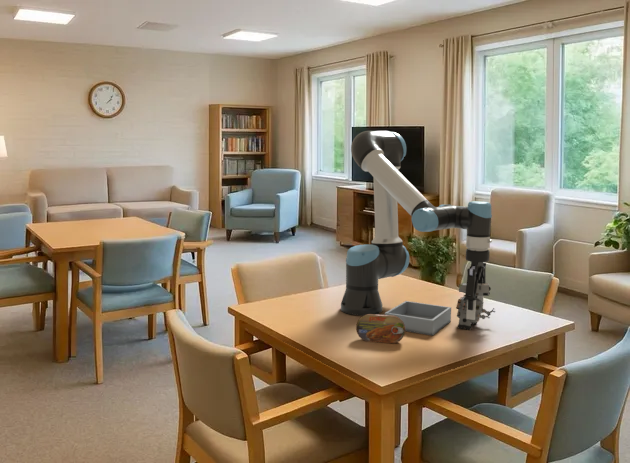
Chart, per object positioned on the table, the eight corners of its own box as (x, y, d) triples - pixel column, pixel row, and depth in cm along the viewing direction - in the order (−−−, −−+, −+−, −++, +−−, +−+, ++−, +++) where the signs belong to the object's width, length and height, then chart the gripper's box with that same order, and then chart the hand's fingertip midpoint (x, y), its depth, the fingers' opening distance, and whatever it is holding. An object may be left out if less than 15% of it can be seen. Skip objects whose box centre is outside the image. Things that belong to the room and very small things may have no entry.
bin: (384, 327, 208) (384, 312, 208) (405, 314, 224) (405, 300, 224) (432, 335, 200) (433, 320, 200) (450, 321, 216) (451, 307, 216)
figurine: (487, 333, 203) (490, 288, 201) (452, 328, 209) (455, 283, 207) (494, 326, 211) (497, 282, 209) (460, 321, 217) (462, 278, 214)
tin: (355, 340, 195) (356, 314, 194) (357, 337, 198) (357, 311, 197) (404, 344, 191) (405, 317, 190) (405, 341, 194) (406, 315, 193)
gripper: (480, 254, 195) (477, 325, 198) (497, 245, 214) (494, 310, 217) (456, 252, 199) (453, 321, 202) (475, 243, 217) (472, 307, 221)
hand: (474, 315), depth 209 cm, fingers closed on figurine, 9 cm apart
